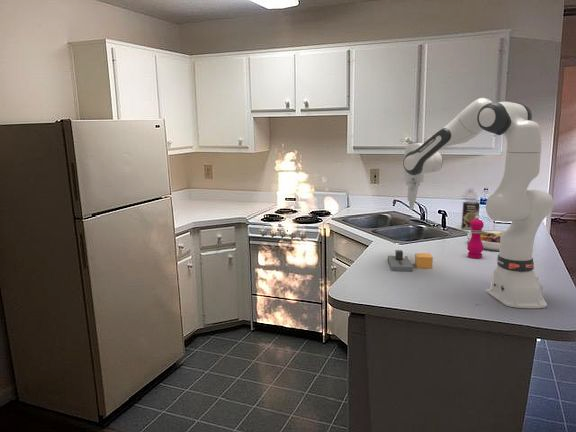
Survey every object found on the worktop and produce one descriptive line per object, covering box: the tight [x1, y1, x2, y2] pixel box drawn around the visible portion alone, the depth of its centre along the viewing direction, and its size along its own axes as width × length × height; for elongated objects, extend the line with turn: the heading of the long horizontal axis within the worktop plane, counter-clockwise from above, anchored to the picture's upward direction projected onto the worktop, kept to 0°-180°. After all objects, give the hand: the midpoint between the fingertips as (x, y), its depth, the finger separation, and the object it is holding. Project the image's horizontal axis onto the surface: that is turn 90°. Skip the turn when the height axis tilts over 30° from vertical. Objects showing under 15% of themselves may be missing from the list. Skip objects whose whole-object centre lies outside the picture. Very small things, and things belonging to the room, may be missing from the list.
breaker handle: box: [394, 249, 404, 260], centre depth 213 cm, size 3×3×4 cm
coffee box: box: [460, 201, 481, 231], centre depth 279 cm, size 9×6×16 cm
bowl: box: [467, 229, 505, 252], centre depth 242 cm, size 30×30×8 cm
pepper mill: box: [466, 216, 484, 259], centre depth 220 cm, size 7×7×20 cm
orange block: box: [414, 252, 434, 269], centre depth 209 cm, size 7×7×5 cm
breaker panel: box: [387, 254, 414, 272], centre depth 211 cm, size 17×9×3 cm, turn 174°
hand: (411, 207), depth 214 cm, fingers open, 8 cm apart
